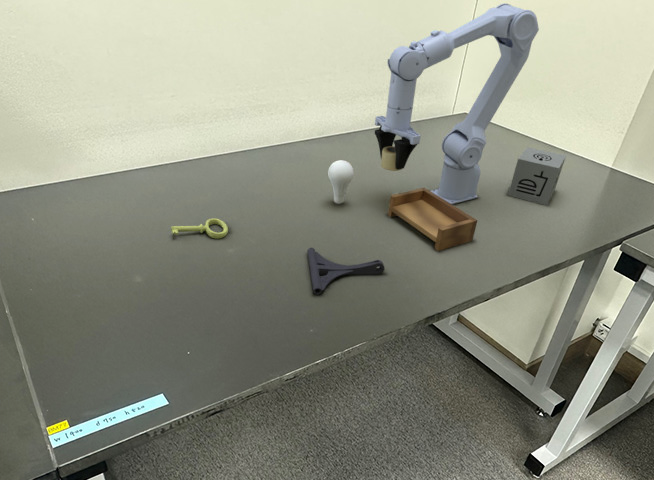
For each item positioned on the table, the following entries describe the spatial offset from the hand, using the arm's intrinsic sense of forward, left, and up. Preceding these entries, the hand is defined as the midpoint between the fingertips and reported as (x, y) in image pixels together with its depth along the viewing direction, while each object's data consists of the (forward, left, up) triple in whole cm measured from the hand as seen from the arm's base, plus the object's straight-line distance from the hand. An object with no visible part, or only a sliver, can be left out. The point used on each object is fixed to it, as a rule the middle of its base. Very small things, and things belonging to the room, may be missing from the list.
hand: (392, 163), depth 127 cm
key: (+46, -6, -10) cm, 48 cm away
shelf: (-1, +15, -10) cm, 18 cm away
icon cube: (-39, +12, -10) cm, 42 cm away
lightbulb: (+11, -5, -10) cm, 16 cm away
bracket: (+26, +22, -10) cm, 36 cm away
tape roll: (0, 0, -1) cm, 1 cm away
